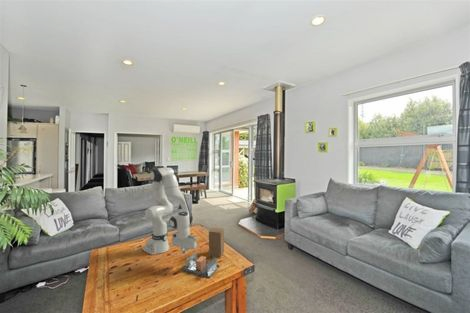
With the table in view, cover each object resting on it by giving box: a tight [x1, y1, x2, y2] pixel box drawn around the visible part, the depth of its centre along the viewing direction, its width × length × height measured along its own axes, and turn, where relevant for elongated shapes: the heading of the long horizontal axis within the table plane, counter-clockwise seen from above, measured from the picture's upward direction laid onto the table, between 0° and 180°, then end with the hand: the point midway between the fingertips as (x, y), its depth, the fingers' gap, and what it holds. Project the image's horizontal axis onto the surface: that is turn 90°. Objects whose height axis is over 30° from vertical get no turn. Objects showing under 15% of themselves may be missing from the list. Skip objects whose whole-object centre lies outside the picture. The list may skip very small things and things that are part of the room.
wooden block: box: [208, 226, 225, 258], centre depth 167 cm, size 10×10×20 cm
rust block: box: [196, 256, 207, 270], centre depth 146 cm, size 4×7×6 cm, turn 157°
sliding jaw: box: [185, 252, 198, 268], centre depth 149 cm, size 2×11×6 cm, turn 157°
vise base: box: [182, 257, 220, 279], centre depth 146 cm, size 22×14×8 cm, turn 67°
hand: (184, 253), depth 151 cm, fingers closed
